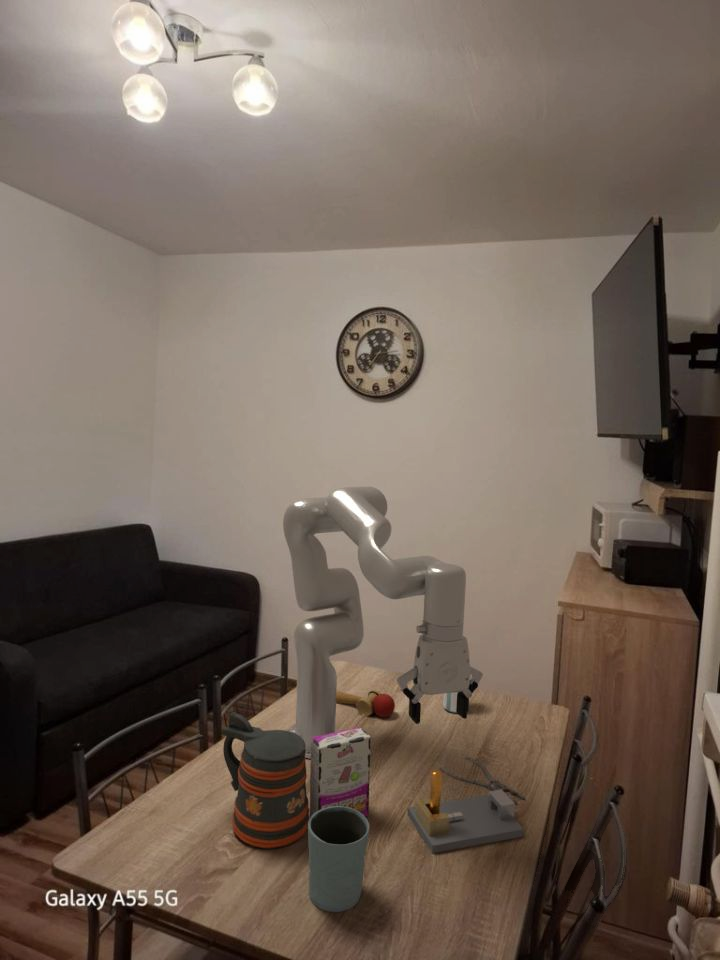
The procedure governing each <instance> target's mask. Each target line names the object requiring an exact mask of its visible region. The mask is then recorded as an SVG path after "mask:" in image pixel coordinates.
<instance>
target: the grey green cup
mask: <svg viewBox="0 0 720 960" xmlns="http://www.w3.org/2000/svg"><path fill="white" fill-rule="evenodd" d="M307 835H308V836H307V840H308V841H307V845H308V854H309V856H308V859H309V860H308V869H309V872H308V893H309V894H308V895H309V899H310V900H311V902H312V903H313V904H314V905H315V907H317V908H318V909H320V910H322V911H326V912H329V913H340V912H344V911H348V910H350V909H352V908H353V907H354V906H356V905H357V904H358V902H359V901H360V898H361V894H362V888H363V879H364V871H365V869H364V868H365V862H366V860H365V856H366V854H367V847H368V842H369V837H370V836H369V835H370V823H369V821H368V819H367V818H366V816H364V815H363V814H361V813H360V812H358V811H357V810H354V809H352V808H348V807H343V806H332V807H326V808H323V809H321V810H319V811H317V812H315V813H314V814H313V815H312V816H311V818H310V817H309V822H308V829H307Z"/></svg>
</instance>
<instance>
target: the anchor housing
mask: <svg viewBox="0 0 720 960" xmlns="http://www.w3.org/2000/svg"><path fill="white" fill-rule="evenodd" d="M506 794H507V793H506V792H503V790H495V791H491V790H490V791H488V793H487V795H488V807H489V808H490V809H495V808H498V813H497V817H498V818H499V819H500V821H501V820H507V819H512V818H514V819H515V805H516V804H515V803H514V802H513V801H512V800H511V799H510V798H511V797H510V796H509V797H510V798H509V797H508V796H507V795H506Z"/></svg>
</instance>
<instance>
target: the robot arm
mask: <svg viewBox="0 0 720 960" xmlns="http://www.w3.org/2000/svg"><path fill="white" fill-rule="evenodd" d="M387 512H388V501H387V499H386V496H385V495H384V494H383V492H382V491H381V490H379V488H377V487H374V486H349V487H347V486H345V487H340V488H337V489H335V490H333V491H332V492H331V493H330V494H328V496H326V497H308V498H300V499H297V500H295V501H294V502H291V503H290V504H289V505H288V506H287V508H286V509H285V512H284V515H283V522H282V528H283V534H284V538H285V540H286V541H285V542H286V543H287V544H286V545H287V548H288V550H289V553H290V558H291V559H290V560H291V568H292V576H293V585H294V594H295V599H296V603H297V605H298V607H299V608H300V609H301V610H302V611H304V612H317V611H318V612H319V611H322V610H330V609H333V612H334V613H331V614H329V613H328V614H324V615H318V616H314V617H309V618H306V619H304V620H302V621H301V622H300V623H298V625H297V626H296V627H295V629H294V632H293V643H294V650H295V654H296V673H297V674H296V675H297V676H296V701H295V704H296V705H295V708H296V709H295V710H296V711H295V724H292V728H291V729H288V731H290V732H293V733H295V734H297V735H299V736H300V737H301V738H302V739H303V740H304V742H305V749H306V754H305V759H310V760H311V738H312V737H317V736H321V735H326V734H330V733H335V732H336V721H337V720H336V717H337V715H336V714H337V702H336V693H337V692H338V691H337V688H338V687H337V685H338V675H337V671H336V669H335V666H333V664H332V662H331V660H330V657H331V656H336V655H339V654H342V653H348V652H349V651H353V650H356V649H358V648H359V647H360V646H361V644H362V642H363V640H364V635H365V634H364V631H365V629H364V620H363V613H362V603H361V596H360V595H361V594H360V589H359V584H358V582H357V579H356V577H355V576H354V574H353V573H352V572H351V571H350V570H349V569H347V568H345V567H334V568H329V566H328V559H327V552H326V549H325V548H324V545H323V544H322V542H321V541H320V540H319V539H318V538H317V536H315V535H316V534H326V533H327V534H328V533H338V532H343V533H344V534H345V535H346V536H347V537H348V538H349V539H350V540H351V541H352V542H353V544H355V545H356V546H357V547H358V548H357V561H358V564H359V568H360V571H361V573H362V575H363V577H364V578H365V579H366V580H367V581H368V582H369V583H370V584H371V586H372V587H373V588H374V589H375V590H377V591H378V593H379V594H380V595H382V596H384V597H385V598H387V599H390V600H402V599H406V598H407V599H408V598H411V597H416V596H424V599H423V600H424V601H423V619H422V621H421V622H422V623H421V624H420V625H417V626H415V627H416V628H415V629H416V633H418V634H420V635H419V636H418V637H419V638H418V641H417V645H416V650H415V652H414V653H415V655H414V661H413V667H412V668H411V669H410V670H407V672H405V673H403V674H402V675H400V676H398V677H397V678H396V683H397V684H398V687H399V689H400V691H401V692H402V693H403V694H404V695H405V697H407V699H408V716H409V718H410V719H411V720H412V722H414V723H415V725H419V724H420V723H421V708H422V707H421V705H422V704H421V702H420V700H421V698H422V697H423V696H424V695H433V696H434V695H442V694H443V695H444V693H454V692H458V694H457V707H456V712H457V713H456V714H458V716H460V717H461V718H463V719H464V720H465V719H467V718H468V712H469V708H470V698H472V697H473V693H474V692H475V691H476V690H477V689H478V688H479V684H480V682H481V681H482V678H483V675H484V674H483V672H482V671H480V670H479V669H477V668H474V667H472V666H470V665H471V662H470V651H469V650H470V649H469V644H468V638H467V637H466V636H464V622H465V620H464V619H465V604H466V603H465V601H466V583H467V573H466V571H465V569H464V568H463V567H461V566H460V565H456V564H452V563H445V562H443V561H442V560H440V559H438V558H436V557H434V556H430V555H420V556H419V555H417V556H411V557H410V556H409V557H402V558H396V559H392V558H391V557H390V556H389V555H387V554H386V553H385V552H384V551H383V550H382V548H383V547H384V546H385V545H386V544H387V542H388V540H389V539H390V537H391V534H392V525H391V522H390V521H389V519H387V518H386V517H385V516H386V514H387ZM421 634H422V635H421ZM471 675H472V676H471ZM411 681H412V683H413V686H411V688H409V686H408V683H410V682H411Z"/></svg>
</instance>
